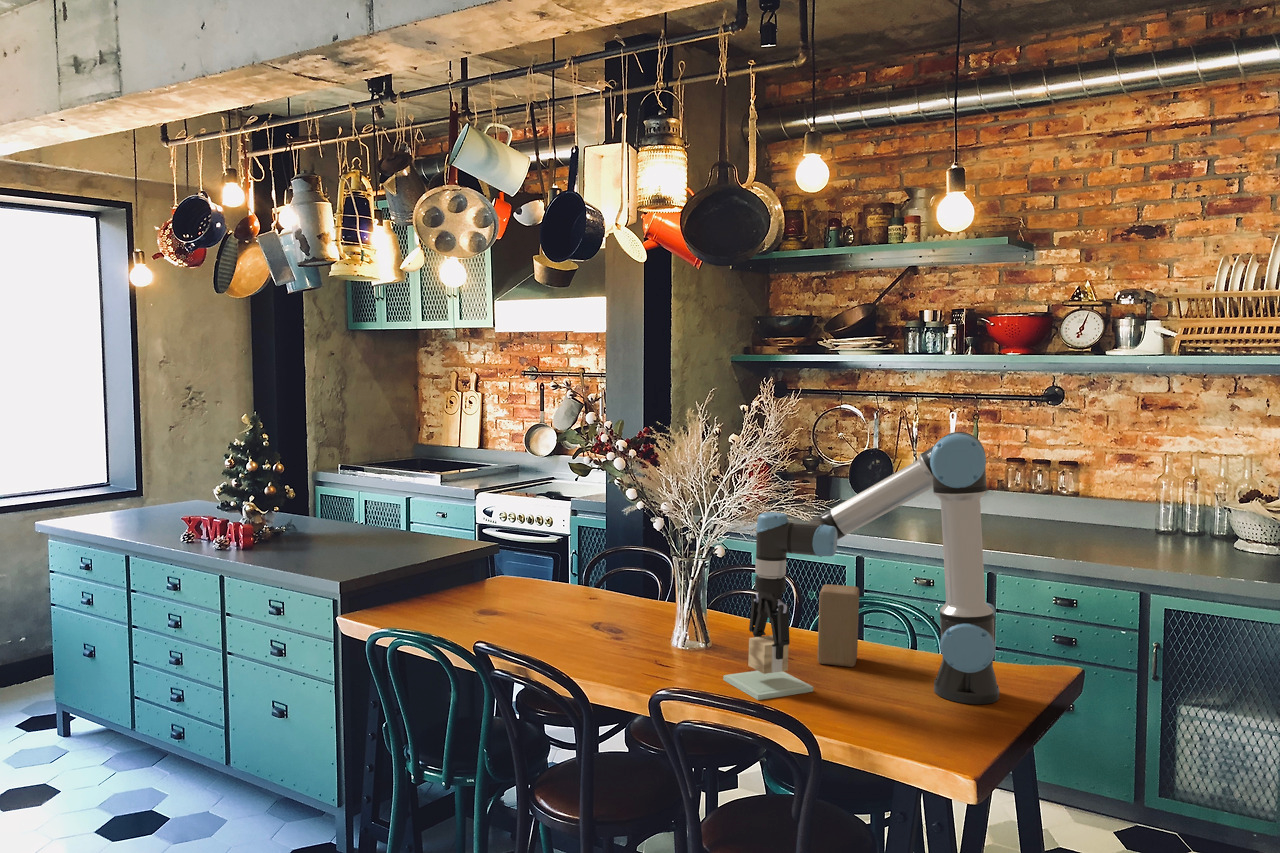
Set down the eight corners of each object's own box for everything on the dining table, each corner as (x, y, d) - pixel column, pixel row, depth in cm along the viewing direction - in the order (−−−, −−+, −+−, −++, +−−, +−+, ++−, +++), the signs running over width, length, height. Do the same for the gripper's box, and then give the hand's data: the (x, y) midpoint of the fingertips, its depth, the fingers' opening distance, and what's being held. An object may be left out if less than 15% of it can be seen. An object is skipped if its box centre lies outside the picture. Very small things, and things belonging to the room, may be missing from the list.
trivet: (813, 691, 230) (813, 686, 230) (757, 700, 223) (757, 694, 223) (776, 672, 244) (776, 667, 244) (723, 679, 238) (723, 675, 238)
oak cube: (787, 670, 232) (788, 642, 232) (763, 673, 229) (764, 645, 229) (771, 662, 238) (772, 635, 238) (748, 665, 235) (749, 638, 235)
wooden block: (857, 657, 259) (859, 586, 258) (855, 668, 249) (857, 593, 248) (820, 654, 262) (822, 583, 261) (816, 664, 252) (819, 590, 251)
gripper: (806, 582, 225) (804, 676, 226) (761, 566, 243) (758, 654, 244) (780, 585, 222) (777, 680, 223) (736, 568, 240) (734, 657, 241)
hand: (767, 666), depth 234 cm, fingers closed on oak cube, 7 cm apart
